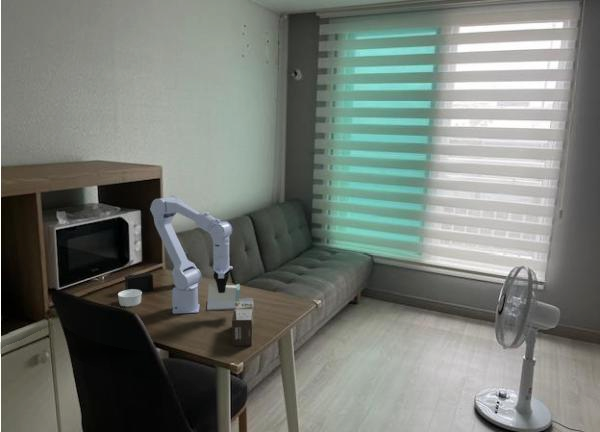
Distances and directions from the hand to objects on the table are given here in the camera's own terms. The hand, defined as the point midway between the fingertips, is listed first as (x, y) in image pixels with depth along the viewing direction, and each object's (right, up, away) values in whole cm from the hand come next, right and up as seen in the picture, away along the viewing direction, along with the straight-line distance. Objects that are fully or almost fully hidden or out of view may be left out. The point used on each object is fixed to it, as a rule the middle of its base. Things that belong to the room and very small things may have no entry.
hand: (221, 291), depth 168 cm
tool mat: (+1, -8, +13) cm, 15 cm away
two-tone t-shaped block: (0, -3, +1) cm, 3 cm away
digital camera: (-39, -4, +27) cm, 48 cm away
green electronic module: (-23, -3, +34) cm, 41 cm away
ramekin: (-38, -7, +13) cm, 41 cm away
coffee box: (+9, -7, -6) cm, 13 cm away
